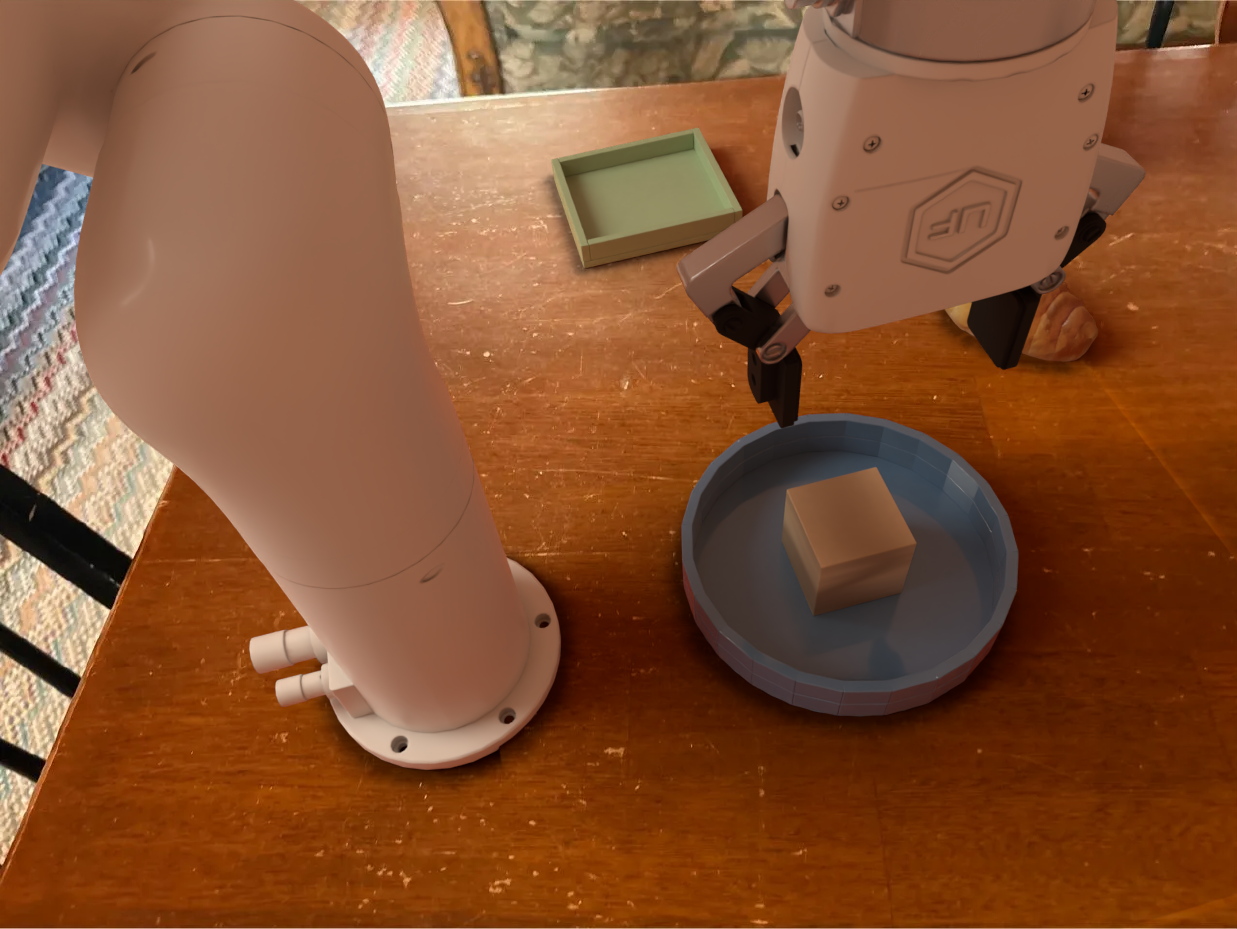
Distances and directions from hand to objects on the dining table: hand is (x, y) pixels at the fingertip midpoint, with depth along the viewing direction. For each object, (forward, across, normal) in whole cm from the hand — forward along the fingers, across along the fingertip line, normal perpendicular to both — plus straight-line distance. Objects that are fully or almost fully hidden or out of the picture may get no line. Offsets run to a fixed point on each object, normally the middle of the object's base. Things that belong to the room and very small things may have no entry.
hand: (883, 374), depth 40 cm
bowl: (+16, -1, 0) cm, 16 cm away
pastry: (+16, +17, +14) cm, 28 cm away
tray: (+16, -2, +35) cm, 38 cm away
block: (+15, -1, 0) cm, 15 cm away
